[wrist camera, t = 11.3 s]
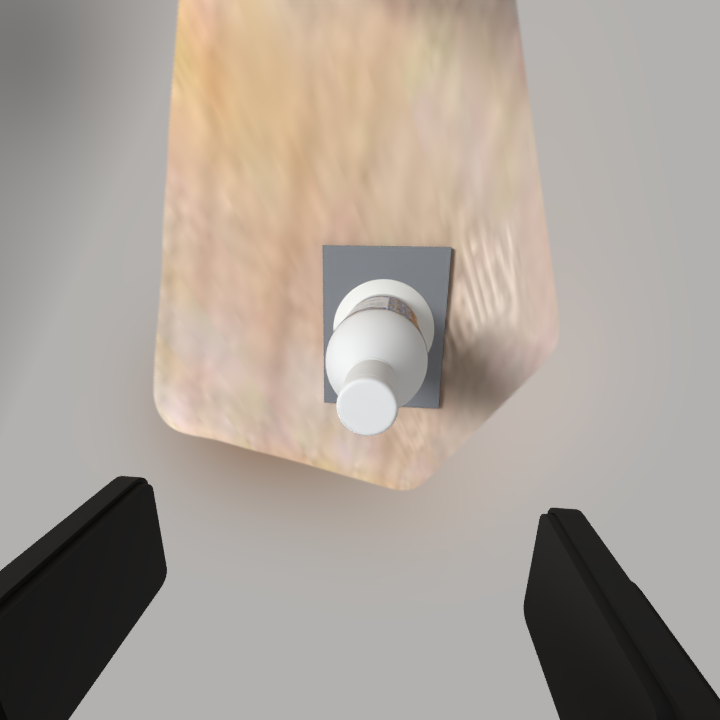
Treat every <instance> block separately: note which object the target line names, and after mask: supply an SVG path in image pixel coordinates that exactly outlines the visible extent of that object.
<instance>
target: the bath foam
mask: <svg viewBox="0 0 720 720" xmlns="http://www.w3.org/2000/svg"><path fill="white" fill-rule="evenodd" d="M427 365H428V352H427V347H426V343H425V340H424V337H423V334H422V332H421V329H420V326H419V323H418V320H417V317H416V315H415V313H414V311H413V310H412V308H411V307H410V306H409V305H408V304H407V303H406V302H405V301H404V300H402V299H401V298H399V297H397V296H394V295H390V294H375V295H371V296H369V297H366V298H365V299H363V300H362V301H360V302H359V303H358V304H357V305H356V306H355V307H354V308H353V309H352V310H351V311H350V313H349V314H348V315H347V316H346V317H345V318H344V320H343V321H342V322H341V323H340V324H339V325H338V327H337V328H336V329H335V331H334V332H333V334H332V336H331V338H330V340H329V342H328V347H327V351H326V372H327V376H328V379H329V382H330V384H331V386H332V388H333V390H334V391H335V393H336V394H337V395H338V398H337V413H338V416H339V418H340V420H341V422H342V423H343V424H344V425H345V426H346V427H347V428H348V429H349V430H351V431H352V432H354V433H356V434H360V435H365V436H372V435H377V434H380V433H382V432H384V431H386V430H387V429H388V428H389V427H390V426H391V425H392V424H393V423H394V421H395V419H396V417H397V414H398V408H400V407H401V406H403V405H404V404H406V403H407V402H408V401H410V400H411V399H412V398H413V397H414V396H415V394H416V393H417V392H418V390H419V389H420V387H421V385H422V383H423V381H424V378H425V375H426V371H427Z"/></svg>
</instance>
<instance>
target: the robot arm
mask: <svg viewBox="0 0 720 720" xmlns="http://www.w3.org/2000/svg"><path fill="white" fill-rule="evenodd" d="M166 574H167V567H166V561H165V555H164V550H163V544H162V538H161V532H160V527H159V520H158V515H157V509H156V503H155V498H154V491H153V488H152V486H151V485H149V484H148V482H147V480H146V479H145V478H141V477H126V476H120V477H117V478H116V479H114V480H113V481H111V482H110V483H109V484H108V485H106V486H105V487H104V488H103V489H101V490H100V491H99V492H98V493H96V494H95V495H94V496H93V497H91V498H90V499H89V500H88V501H86V502H85V503H84V504H83V505H82V506H80V507H79V508H78V509H77V510H75V511H74V512H73V513H72V514H70V515H69V516H68V517H67V518H65V519H64V520H63V521H62V522H60V523H59V524H58V525H57V526H56V527H54V528H53V529H52V530H50V531H49V532H48V533H47V534H45V535H44V536H43V537H42V538H40V539H39V540H38V541H37V542H36V543H34V544H33V545H32V546H31V547H29V548H28V549H27V550H26V551H24V552H23V553H22V554H21V555H20V556H18V557H17V558H16V559H14V560H13V561H12V562H11V563H10V564H8V565H7V566H6V567H4V568H3V569H2V570H1V571H0V720H68V719H69V718H70V717H71V715H72V714H73V712H74V711H75V709H76V708H77V706H78V705H79V704H80V702H81V701H82V699H83V698H84V697H85V695H86V694H87V692H88V691H89V689H90V688H91V686H92V685H93V684H94V682H95V681H96V679H97V678H98V677H99V675H100V674H101V672H102V671H103V670H104V668H105V667H106V665H107V664H108V662H109V661H110V660H111V658H112V657H113V655H114V654H115V652H116V651H117V650H118V648H119V647H120V645H121V644H122V642H123V641H124V639H125V638H126V637H127V635H128V634H129V632H130V631H131V630H132V628H133V627H134V625H135V624H136V622H137V621H138V620H139V618H140V617H141V615H142V614H143V612H144V611H145V609H146V608H147V607H148V605H149V604H150V602H151V601H152V599H153V598H154V597H155V595H156V594H157V592H158V591H159V590H160V588H161V587H162V585H163V583H164V581H165V578H166ZM524 616H525V620H526V624H527V627H528V629H529V633H530V635H531V638H532V641H533V644H534V647H535V650H536V653H537V655H538V658H539V661H540V664H541V667H542V670H543V672H544V675H545V678H546V681H547V684H548V687H549V690H550V692H551V695H552V698H553V701H554V704H555V707H556V710H557V712H558V715H559V718H560V720H720V699H719V697H718V696H717V694H716V693H715V692H714V690H713V689H712V688H711V686H710V685H709V684H708V682H707V681H706V679H705V678H704V677H703V675H702V674H701V672H699V670H698V668H697V667H696V665H695V664H694V663H693V661H692V660H691V659H690V657H689V656H688V655H687V653H686V652H685V650H684V649H683V648H682V646H681V645H680V643H679V642H678V641H677V639H676V638H675V636H674V635H673V634H672V632H671V631H670V630H669V628H668V627H667V625H666V624H665V623H664V621H663V620H662V619H661V617H660V616H659V614H658V613H657V612H656V610H655V609H654V607H653V606H652V605H651V603H650V602H649V601H648V599H647V598H646V596H645V595H644V594H643V592H642V591H641V590H640V589H639V588H638V586H637V585H636V584H635V583H633V582H632V581H631V580H630V579H629V578H628V576H627V575H626V573H625V572H624V571H623V569H622V568H621V566H620V565H619V564H618V562H617V561H616V560H615V558H614V557H613V555H612V554H611V553H610V551H609V550H608V548H607V547H606V545H605V544H604V543H603V541H602V540H601V539H600V537H599V536H598V534H597V533H596V531H595V530H594V529H593V527H592V526H591V525H590V523H589V522H588V520H587V519H586V517H585V516H584V515H583V514H582V512H581V511H579V510H577V509H563V508H550V509H549V511H548V513H547V514H542V515H541V516H540V519H539V525H538V530H537V535H536V541H535V547H534V551H533V557H532V563H531V568H530V573H529V579H528V584H527V589H526V594H525V600H524Z"/></svg>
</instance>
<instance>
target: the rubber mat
mask: <svg viewBox="0 0 720 720" xmlns="http://www.w3.org/2000/svg"><path fill="white" fill-rule="evenodd" d="M450 258H451V247H405V246H333V245H323V323H324V402H326V403H337V398H338V395H337V394H336V393H335V391H334V390H333V388H332V386H331V384H330V382H329V379H328V376H327V372H326V351H327V347H328V342H329V340H330V338H331V336H332V334H333V332H334V331H335V329H336V328H337V327H338V325H339V324H340V323H341V322H342V321H343V320H344V318H345V317H346V316H347V315H348V314H349V313H350V311H351V310H352V309H353V308H354V307H355V306H356V305H357V304H358V303H359V302H360V301H362V300H363V299H365V298H366V297H369V296H371V295H375V294H390V295H394V296H397V297H399V298H401V299H402V300H404V301H405V302H406V303H407V304H408V305H409V306H410V307H411V308H412V310H413V311H414V313H415V315H416V317H417V320H418V323H419V326H420V329H421V332H422V334H423V337H424V340H425V343H426V347H427V352H428V365H427V371H426V375H425V378H424V381H423V383H422V385H421V387H420V389H419V390H418V392H417V393H416V394H415V396H414V397H413V398H412V399H411V400H410V401H408V402H407V403H406V404H404V405H403V406H402V407H421V408H438V407H439V395H440V383H441V370H442V358H443V345H444V333H445V321H446V308H447V296H448V283H449V271H450Z"/></svg>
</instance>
